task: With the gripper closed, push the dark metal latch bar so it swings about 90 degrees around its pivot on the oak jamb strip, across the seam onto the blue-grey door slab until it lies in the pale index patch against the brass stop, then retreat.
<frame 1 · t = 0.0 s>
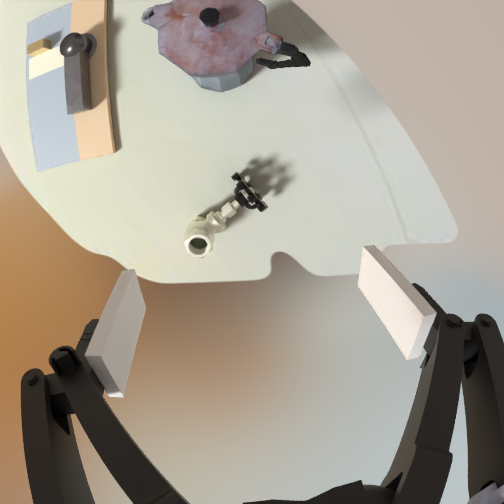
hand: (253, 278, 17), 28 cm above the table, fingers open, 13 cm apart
latch bar: (76, 72, 29), point 3 cm above the table, hinge at 0.0°
valve: (219, 209, 44), on the table
door panel: (66, 80, 31), on the table
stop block: (43, 48, 27), resting on door panel
moka pot: (223, 61, 34), on the table
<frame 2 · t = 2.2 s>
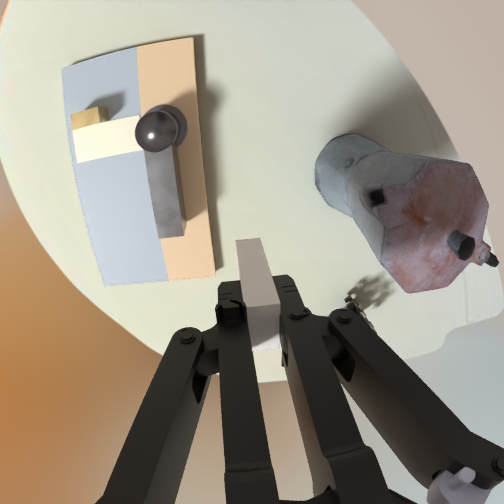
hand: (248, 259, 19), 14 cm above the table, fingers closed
latch bar: (164, 173, 26), point 3 cm above the table, hinge at 0.0°
door panel: (137, 170, 29), on the table
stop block: (94, 116, 24), resting on door panel
moka pot: (352, 171, 31), on the table
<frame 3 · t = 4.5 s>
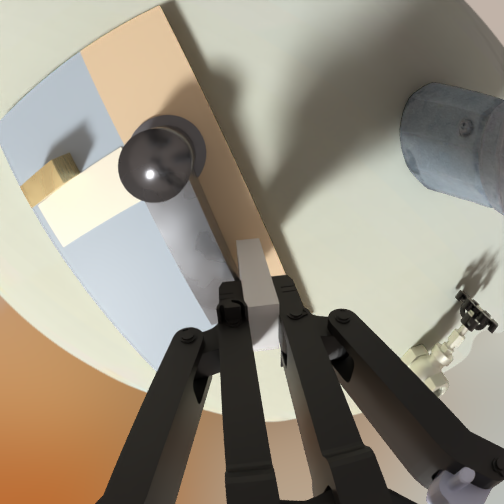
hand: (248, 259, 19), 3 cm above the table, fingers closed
latch bar: (190, 226, 16), point 3 cm above the table, hinge at 3.7°, touching gripper
valve: (431, 330, 29), on the table
door panel: (151, 227, 20), on the table
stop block: (59, 174, 16), resting on door panel
moka pot: (442, 133, 19), on the table
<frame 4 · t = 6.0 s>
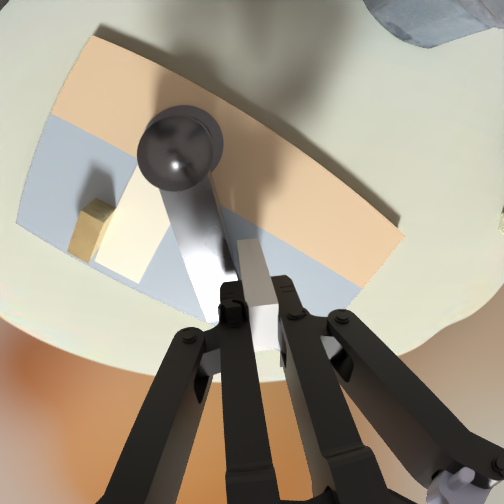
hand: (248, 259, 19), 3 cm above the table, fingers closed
latch bar: (199, 220, 16), point 3 cm above the table, hinge at 44.0°, touching gripper
door panel: (209, 218, 20), on the table
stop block: (97, 222, 17), resting on door panel
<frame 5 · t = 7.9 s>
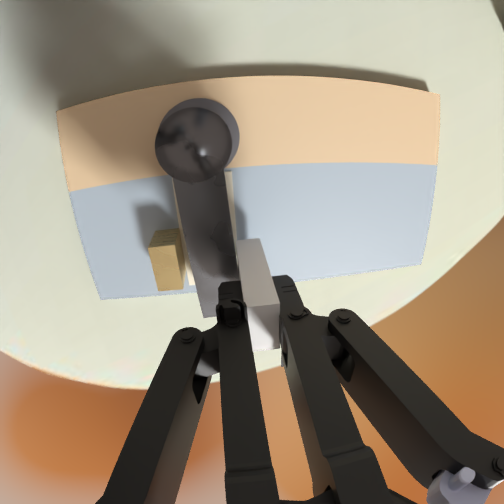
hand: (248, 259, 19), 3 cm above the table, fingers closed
latch bar: (207, 214, 16), point 3 cm above the table, hinge at 87.1°, touching gripper
door panel: (266, 184, 19), on the table
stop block: (171, 250, 19), resting on door panel
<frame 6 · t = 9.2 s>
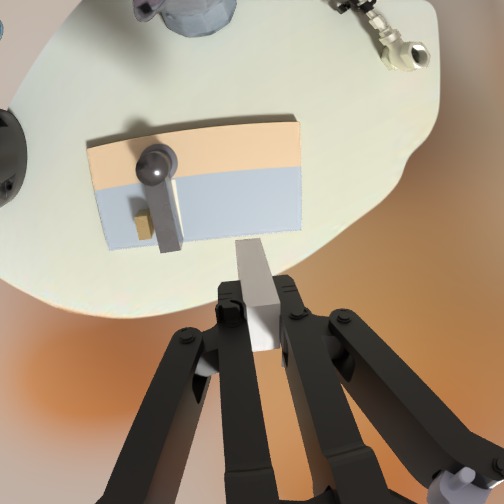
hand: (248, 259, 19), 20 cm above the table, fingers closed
latch bar: (161, 200, 33), point 3 cm above the table, hinge at 87.2°
valve: (373, 36, 29), on the table
door panel: (195, 184, 36), on the table
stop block: (147, 220, 36), resting on door panel
moka pot: (197, 5, 25), on the table
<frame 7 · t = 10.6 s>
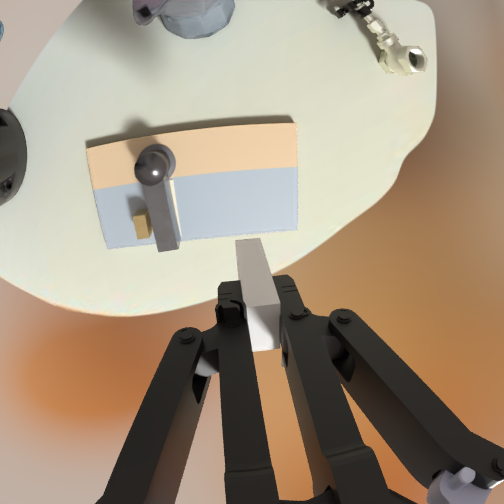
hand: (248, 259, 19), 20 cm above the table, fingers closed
latch bar: (159, 200, 33), point 3 cm above the table, hinge at 87.2°
valve: (371, 40, 29), on the table
door panel: (192, 184, 36), on the table
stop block: (145, 219, 36), resting on door panel
moka pot: (196, 7, 26), on the table
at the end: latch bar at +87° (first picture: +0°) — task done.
